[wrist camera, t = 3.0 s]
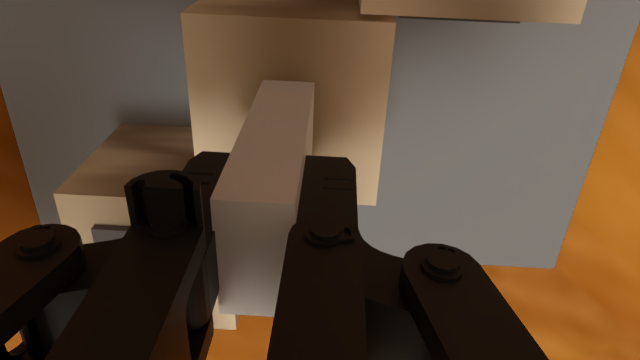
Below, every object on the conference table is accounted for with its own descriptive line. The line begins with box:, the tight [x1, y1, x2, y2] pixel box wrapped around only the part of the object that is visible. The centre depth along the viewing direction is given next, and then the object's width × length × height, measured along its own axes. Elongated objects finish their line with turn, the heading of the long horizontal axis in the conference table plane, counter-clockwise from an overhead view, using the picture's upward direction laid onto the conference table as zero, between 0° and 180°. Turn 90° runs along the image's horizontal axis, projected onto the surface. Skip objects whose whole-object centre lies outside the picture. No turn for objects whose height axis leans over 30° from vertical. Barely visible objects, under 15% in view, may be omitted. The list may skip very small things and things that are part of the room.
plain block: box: [180, 0, 396, 206], centre depth 18 cm, size 6×6×6 cm
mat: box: [0, 0, 640, 269], centre depth 21 cm, size 26×20×1 cm
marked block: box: [53, 124, 240, 330], centre depth 21 cm, size 6×6×6 cm
